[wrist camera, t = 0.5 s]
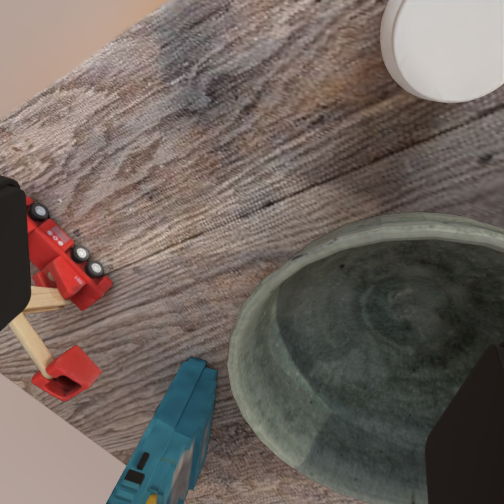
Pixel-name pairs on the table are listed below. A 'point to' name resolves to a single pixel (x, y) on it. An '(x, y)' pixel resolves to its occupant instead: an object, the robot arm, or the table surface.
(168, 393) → the handheld gaming console
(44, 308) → the toy fire truck
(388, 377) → the bowl
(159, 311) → the table surface
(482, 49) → the pill bottle
